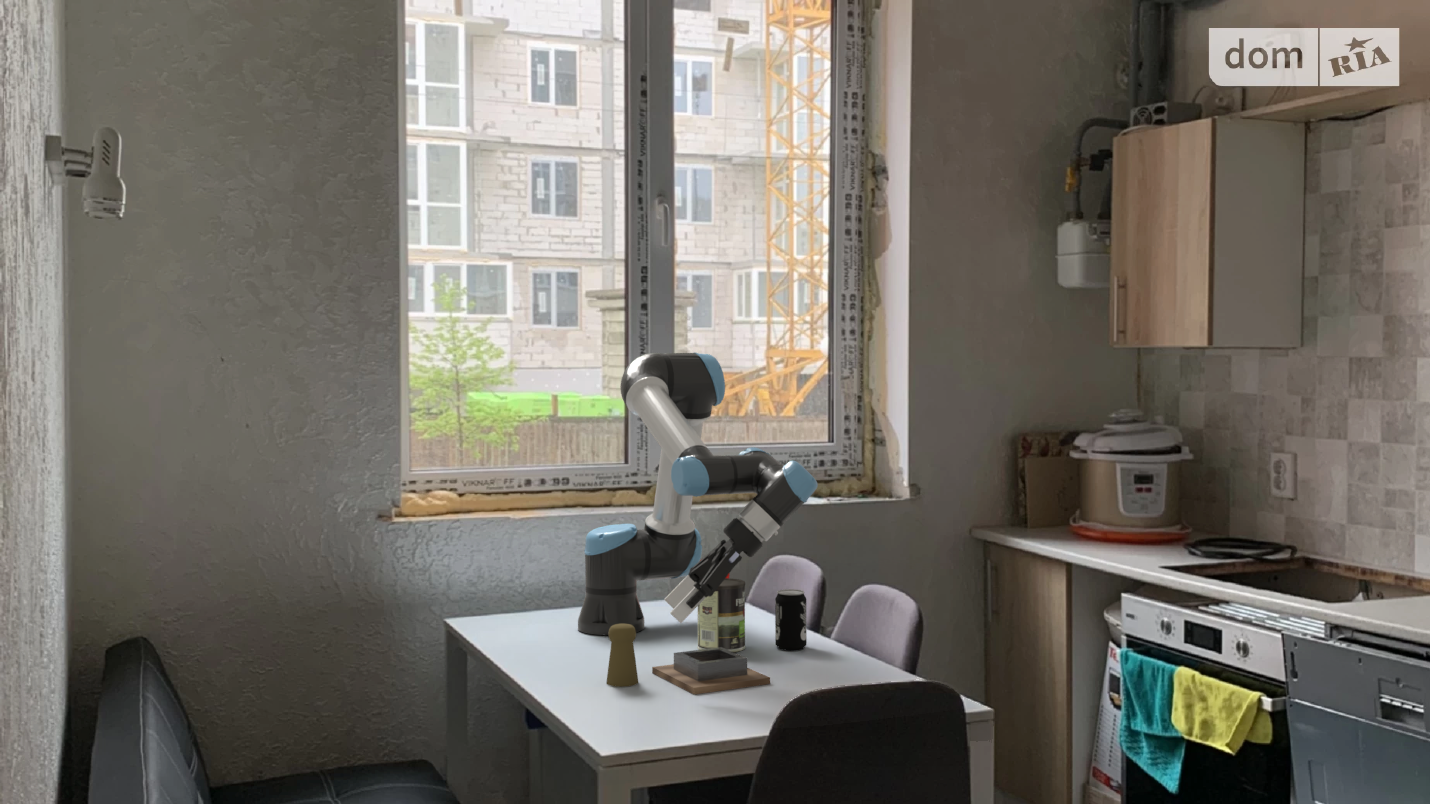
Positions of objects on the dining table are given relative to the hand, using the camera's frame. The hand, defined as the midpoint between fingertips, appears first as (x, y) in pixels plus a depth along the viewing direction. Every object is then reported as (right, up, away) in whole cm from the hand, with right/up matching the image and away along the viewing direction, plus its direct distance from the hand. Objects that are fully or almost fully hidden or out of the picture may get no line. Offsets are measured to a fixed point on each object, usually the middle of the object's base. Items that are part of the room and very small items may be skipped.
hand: (672, 611), depth 229 cm
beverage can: (+24, -13, +29) cm, 40 cm away
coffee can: (+9, -13, +29) cm, 33 cm away
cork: (-9, -14, 0) cm, 16 cm away
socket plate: (+7, -13, +3) cm, 15 cm away
